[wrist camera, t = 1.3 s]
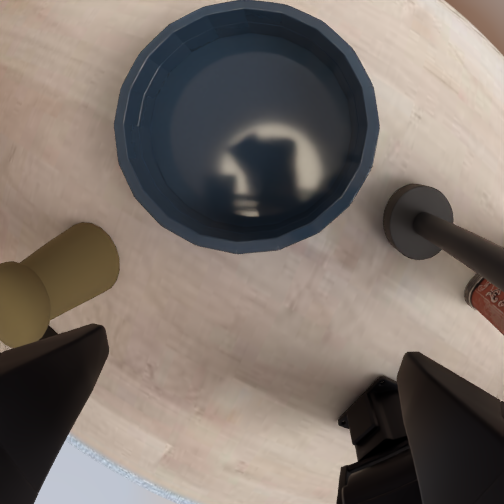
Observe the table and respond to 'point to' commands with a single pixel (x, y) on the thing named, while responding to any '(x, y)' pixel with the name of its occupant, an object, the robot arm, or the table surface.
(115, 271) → the olive game pawn
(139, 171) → the bowl
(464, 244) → the dark disc-based rod
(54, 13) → the table surface
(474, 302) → the lighter
